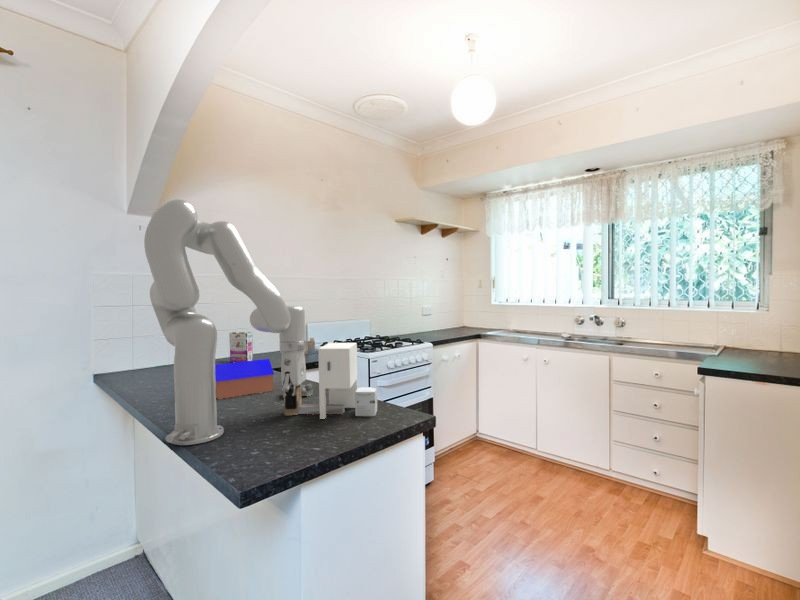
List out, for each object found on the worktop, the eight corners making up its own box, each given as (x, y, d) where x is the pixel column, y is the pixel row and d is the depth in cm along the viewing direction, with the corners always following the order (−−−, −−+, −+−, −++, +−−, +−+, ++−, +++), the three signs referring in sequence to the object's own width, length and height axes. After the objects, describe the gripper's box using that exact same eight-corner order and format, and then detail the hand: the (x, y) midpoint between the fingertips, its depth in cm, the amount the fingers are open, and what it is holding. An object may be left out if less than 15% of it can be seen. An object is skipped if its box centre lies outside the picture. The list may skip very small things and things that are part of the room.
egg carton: (281, 400, 138) (281, 388, 138) (282, 395, 145) (281, 384, 145) (313, 397, 141) (313, 386, 141) (312, 392, 148) (311, 381, 148)
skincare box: (355, 416, 118) (354, 391, 118) (358, 410, 124) (357, 386, 124) (375, 416, 118) (375, 391, 118) (377, 410, 124) (377, 386, 124)
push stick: (342, 415, 119) (341, 388, 119) (284, 415, 120) (283, 388, 120) (344, 411, 123) (344, 385, 123) (288, 411, 124) (288, 385, 124)
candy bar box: (253, 361, 216) (252, 331, 216) (247, 363, 211) (246, 332, 211) (236, 361, 219) (235, 331, 219) (229, 362, 214) (228, 332, 214)
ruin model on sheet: (313, 353, 247) (313, 337, 247) (315, 353, 244) (314, 337, 244) (295, 354, 242) (294, 338, 241) (296, 355, 239) (296, 339, 239)
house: (210, 393, 149) (209, 362, 149) (265, 385, 160) (264, 356, 160) (216, 400, 139) (215, 367, 139) (274, 391, 150) (273, 360, 150)
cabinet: (350, 420, 115) (348, 348, 114) (319, 420, 115) (317, 349, 115) (358, 406, 128) (356, 342, 128) (330, 406, 129) (328, 342, 128)
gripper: (295, 350, 113) (297, 414, 113) (312, 343, 130) (313, 398, 130) (269, 350, 113) (271, 414, 114) (289, 343, 130) (290, 398, 131)
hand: (293, 405), depth 122 cm, fingers open, 4 cm apart
